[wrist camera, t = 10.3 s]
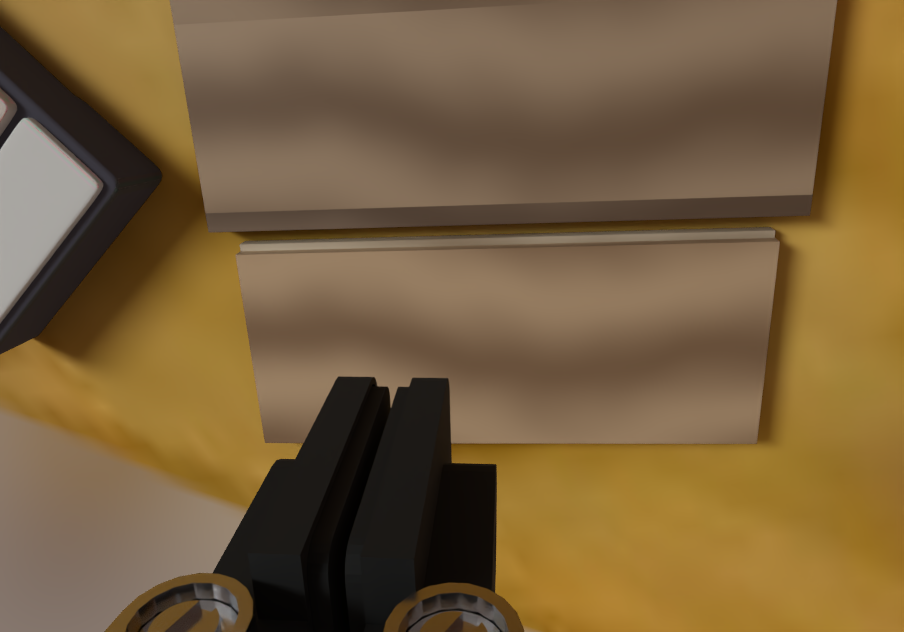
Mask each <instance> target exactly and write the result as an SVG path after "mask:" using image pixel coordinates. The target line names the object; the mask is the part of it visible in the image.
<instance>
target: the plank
mask: <svg viewBox="0 0 904 632" xmlns="http://www.w3.org/2000/svg"><path fill="white" fill-rule="evenodd" d="M779 245H780V241H778V240H777V239H776V238H775V230H774V229H772V228H771V227H754V228H717V229H679V230H642V231H604V232H567V233H529V234H491V235H454V236H416V237H379V238H341V239H304V240H266V241H244V242H243V243H241V244H240V249H241V252H239V253H238V254H236V261H237V267H238V274H239V280H240V286H241V293H242V299H243V305H244V312H245V318H246V325H247V331H248V337H249V344H250V350H251V356H252V363H253V369H254V375H255V382H256V388H257V395H258V401H259V407H260V414H261V420H262V426H263V433H264V439H265V443H304V441H305V439H306V437H307V435H308V433H309V432H310V430H311V428H312V426H313V424H314V422H315V420H316V418H317V416H318V414H319V412H320V410H321V408H322V406H323V404H324V402H325V400H326V398H327V396H328V394H329V392H330V390H331V388H332V386H333V384H334V382H335V380H336V379H337V377H338V376H342V377H375V379H376V382H377V386H386V387H388V388H389V392H390V404H391V406H392V403H393V400H394V397H395V394H396V391H397V388H398V387H409V386H410V383H411V380H412V378H448V379H449V387H450V422H451V443H598V444H757V437H758V428H759V420H760V411H761V402H762V394H763V385H764V376H765V367H766V359H767V350H768V341H769V332H770V324H771V315H772V306H773V297H774V289H775V280H776V271H777V262H778V254H779Z"/></svg>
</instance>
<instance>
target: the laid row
mask: <svg viewBox="0 0 904 632" xmlns="http://www.w3.org/2000/svg"><path fill="white" fill-rule="evenodd" d="M170 5H171V11H172V17H173V23H174V29H175V35H176V41H177V46H178V52H179V58H180V64H181V70H182V76H183V82H184V88H185V94H186V100H187V106H188V112H189V118H190V124H191V130H192V136H193V142H194V148H195V154H196V159H197V165H198V171H199V177H200V183H201V189H202V195H203V201H204V207H205V214H206V220H207V226H208V231H209V232H238V231H274V230H310V229H345V228H381V227H417V226H452V225H488V224H524V223H559V222H595V221H631V220H667V219H702V218H738V217H774V216H809V215H810V211H811V203H812V196H813V187H814V179H815V171H816V163H817V155H818V147H819V140H820V132H821V124H822V116H823V108H824V100H825V92H826V85H827V77H828V69H829V61H830V53H831V45H832V37H833V30H834V22H835V14H836V6H837V0H170Z"/></svg>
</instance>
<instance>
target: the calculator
mask: <svg viewBox="0 0 904 632" xmlns="http://www.w3.org/2000/svg"><path fill="white" fill-rule="evenodd" d="M161 179H162V174H161V171H160V170H159V168H158V167H157V166H156V165H155V164H154V163H153V162H152V161H150V160H149V159H148V158H147V157H146V156H145V155H144V154H143V153H142V152H140V151H139V150H138V149H137V148H136V147H135V146H134V145H133V144H132V143H130V142H129V141H128V140H127V139H126V138H125V137H124V136H123V135H121V134H120V133H119V132H118V131H117V130H116V129H115V128H114V127H113V126H111V125H110V124H109V123H108V122H107V121H106V120H105V119H104V118H103V117H101V116H100V115H99V114H98V113H97V112H96V111H95V110H94V109H93V108H91V107H90V106H89V105H88V104H87V103H86V102H84V101H83V100H81V99H79V98H78V97H76V96H75V95H73V94H72V93H71V92H70V91H69V90H68V89H67V88H66V87H64V86H63V85H62V84H61V83H60V82H59V81H58V80H57V79H56V78H55V77H54V76H53V75H52V74H51V73H50V72H48V71H47V70H46V69H45V68H44V67H43V66H42V65H41V64H40V63H39V62H38V61H37V60H36V59H35V58H34V57H32V56H31V55H30V54H29V53H28V52H27V51H26V50H25V49H24V48H23V47H22V46H21V45H20V44H19V43H17V42H16V41H15V40H14V39H13V38H12V37H11V36H10V35H9V34H8V33H7V32H6V31H5V30H4V29H3V28H1V27H0V354H2V353H4V352H6V351H8V350H10V349H12V348H14V347H16V346H18V345H20V344H22V343H24V342H26V341H28V340H30V339H32V338H34V337H36V336H38V335H39V334H40V333H41V332H42V330H43V329H44V328H45V327H46V325H47V324H48V323H49V322H50V320H51V319H52V318H53V317H54V315H55V314H56V313H57V312H58V310H59V309H60V308H61V307H62V305H63V304H64V303H65V302H66V300H67V299H68V298H69V297H70V295H71V294H72V293H73V292H74V290H75V289H76V288H77V286H78V285H79V284H80V283H81V281H82V280H83V279H84V278H85V276H86V275H87V274H88V273H89V271H90V270H91V269H92V268H93V266H94V265H95V264H96V263H97V261H98V260H99V259H100V258H101V256H102V255H103V254H104V253H105V251H106V250H107V249H108V248H109V246H110V245H111V244H112V242H113V241H114V240H115V239H116V237H117V236H118V235H119V234H120V232H121V231H122V230H123V229H124V227H125V226H126V225H127V224H128V222H129V221H130V220H131V219H132V217H133V216H134V215H135V214H136V212H137V211H138V210H139V209H140V207H141V206H142V205H143V204H144V202H145V201H146V200H147V199H148V197H149V196H150V195H151V193H152V192H153V191H154V190H155V188H156V187H157V186H158V185H159V183H160V181H161Z"/></svg>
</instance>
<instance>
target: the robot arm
mask: <svg viewBox="0 0 904 632" xmlns="http://www.w3.org/2000/svg"><path fill="white" fill-rule="evenodd" d="M496 502H497V472H496V464H461V463H452V461H451V422H450V387H449V379H448V378H412V380H411V383H410V386H409V387H398V388H397V391H396V394H395V397H394V400H393V403H392V406H391V404H390V392H389V388H388V387H386V386H377V382H376V379H375V377H342V376H338V377H337V379H336V380H335V382H334V384H333V386H332V388H331V390H330V392H329V394H328V396H327V398H326V400H325V402H324V404H323V406H322V408H321V410H320V412H319V414H318V416H317V418H316V420H315V422H314V424H313V426H312V428H311V430H310V432H309V433H308V435H307V437H306V439H305V441H304V443H303V445H302V447H301V449H300V451H299V453H298V455H297V457H296V459H279V460H276V462H275V463H274V464H273V466H272V467H271V469H270V471H269V473H268V474H267V476H266V478H265V480H264V482H263V483H262V485H261V487H260V489H259V491H258V492H257V494H256V496H255V498H254V500H253V501H252V503H251V505H250V507H249V509H248V510H247V512H246V514H245V516H244V518H243V519H242V521H241V523H240V525H239V527H238V528H237V530H236V532H235V534H234V536H233V538H232V539H231V541H230V543H229V545H228V546H227V548H226V550H225V552H224V554H223V555H222V557H221V559H220V561H219V563H218V564H217V566H216V568H215V570H214V572H213V573H197V574H192V575H187V576H181V577H177V578H174V579H172V580H169V581H166V582H164V583H161V584H159V585H157V586H155V587H153V588H152V589H150V590H148V591H147V592H145V593H143V594H142V595H140V596H138V597H137V598H136V599H135V600H134V601H133V602H132V603H131V604H130V605H128V606H127V607H126V608H125V609H124V610H123V611H122V612H121V614H119V616H118V617H117V618H116V619H115V620H114V621H113V622H112V624H111V625H110V626H109V627H108V628H107V629H106V631H105V632H524V628H523V626H522V623H521V621H520V619H519V616H518V614H517V612H516V611H515V610H514V609H513V608H512V606H511V605H510V604H509V603H508V602H507V601H506V600H505V599H504V598H502V597H501V596H499V595H497V594H496V593H495V575H496Z"/></svg>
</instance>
